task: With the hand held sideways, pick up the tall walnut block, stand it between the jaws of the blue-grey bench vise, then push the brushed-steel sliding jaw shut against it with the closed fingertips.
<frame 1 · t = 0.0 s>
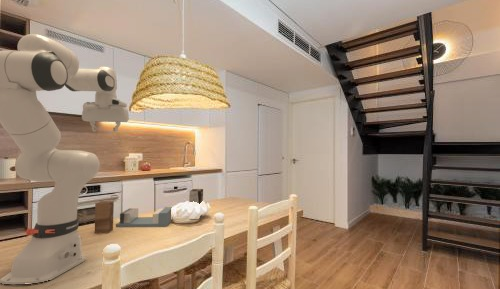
hand: (105, 131, 118), 48 cm above the table, tool pointing down, fingers open, 8 cm apart
vise base: (145, 223, 132), on the table
walnut block: (103, 231, 118), on the table
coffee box: (196, 217, 145), on the table
vise jaw: (129, 215, 132), point 4 cm above the table, slide at 0.0 cm
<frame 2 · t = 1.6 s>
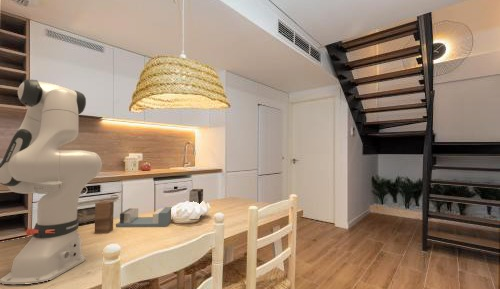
hand: (79, 184, 118), 22 cm above the table, tool horizontal, fingers open, 8 cm apart
nothing on the table moved.
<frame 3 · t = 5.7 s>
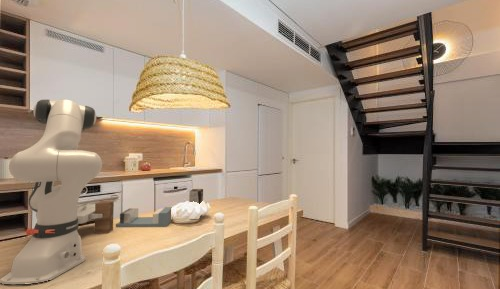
hand: (106, 213, 119), 8 cm above the table, tool horizontal, fingers closed on walnut block, 5 cm apart
walnut block: (103, 231, 118), on the table, touching gripper
everything else where it was.
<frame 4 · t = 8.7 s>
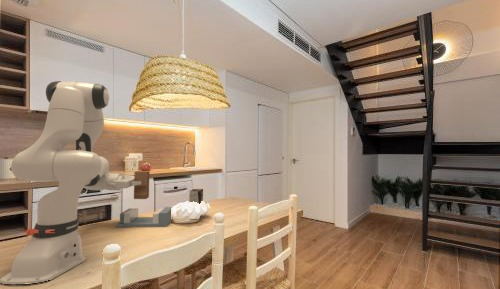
hand: (143, 182, 131), 22 cm above the table, tool horizontal, fingers closed on walnut block, 5 cm apart
walnut block: (141, 198, 131), point 14 cm above the table, touching gripper
everything else where it was.
when the fingers open (11 cm above the table, at t = 11.5 s): walnut block drops 1 cm, resting on vise base.
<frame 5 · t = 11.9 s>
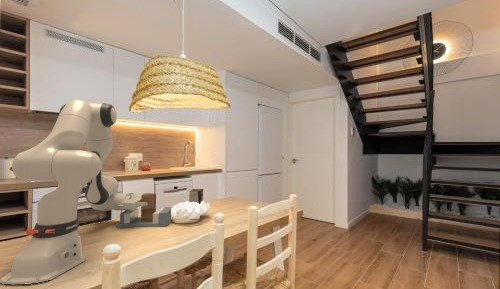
hand: (150, 201, 133), 11 cm above the table, tool horizontal, fingers open, 8 cm apart
walnut block: (148, 220, 132), point 2 cm above the table, touching vise base
everything else where it was.
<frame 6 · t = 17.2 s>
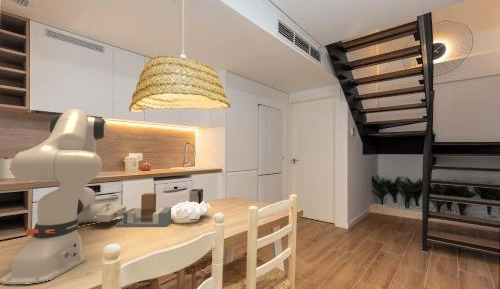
hand: (127, 213, 132), 5 cm above the table, tool horizontal, fingers closed, pressing on vise jaw
vise jaw: (132, 215, 132), point 4 cm above the table, slide at 1.7 cm, touching gripper
everything else where it was.
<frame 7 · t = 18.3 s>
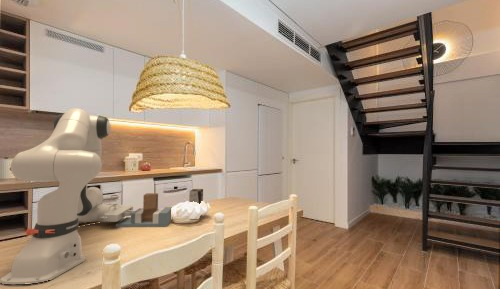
hand: (135, 213, 132), 5 cm above the table, tool horizontal, fingers closed, pressing on vise jaw
walnut block: (150, 220, 132), point 1 cm above the table, touching vise base, vise jaw
vise jaw: (140, 215, 132), point 4 cm above the table, slide at 5.5 cm, touching gripper, walnut block
everything else where it was.
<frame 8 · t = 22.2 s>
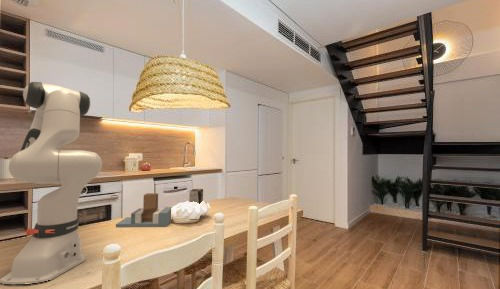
hand: (90, 175, 126), 26 cm above the table, tool horizontal, fingers closed
vise jaw: (140, 215, 132), point 4 cm above the table, slide at 5.5 cm, touching walnut block
everything else where it was.
at the end: vise jaw slide at 5.5 cm; walnut block 1.0 cm from the target spot on the vise base, point 1.5 cm above the vise base's base; walnut block tilted 0° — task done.
